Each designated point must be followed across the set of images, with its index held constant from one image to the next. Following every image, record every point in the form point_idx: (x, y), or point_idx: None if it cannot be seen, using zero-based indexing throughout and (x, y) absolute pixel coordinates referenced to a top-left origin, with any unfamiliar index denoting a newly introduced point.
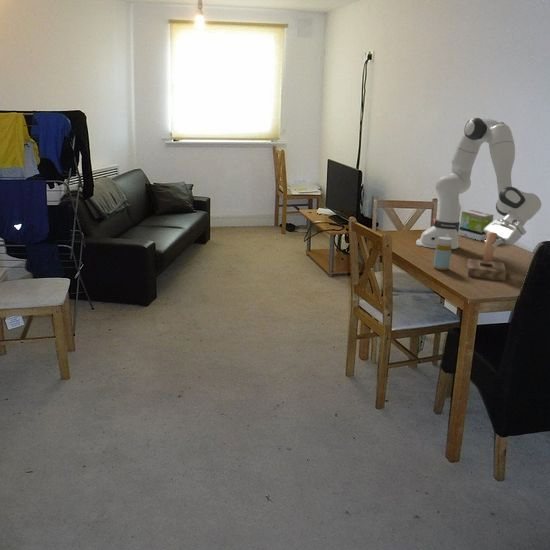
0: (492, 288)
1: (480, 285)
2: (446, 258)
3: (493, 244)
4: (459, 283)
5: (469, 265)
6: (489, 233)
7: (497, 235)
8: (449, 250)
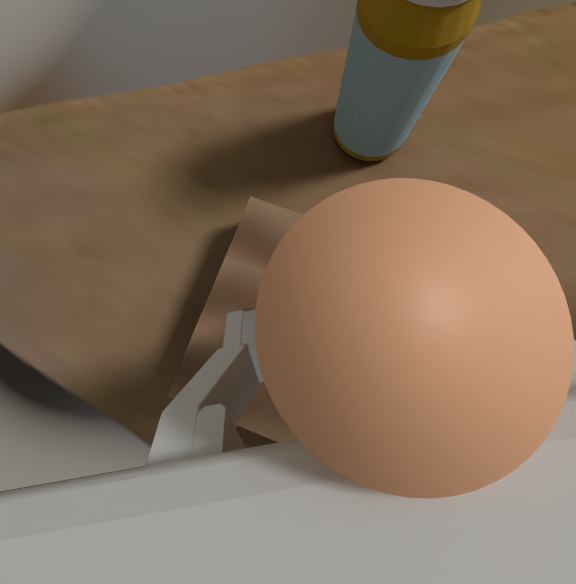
0: (80, 267)
1: (123, 228)
2: (345, 80)
3: (227, 324)
4: (152, 145)
5: (298, 217)
6: (326, 204)
7: (285, 456)
8: (366, 35)
